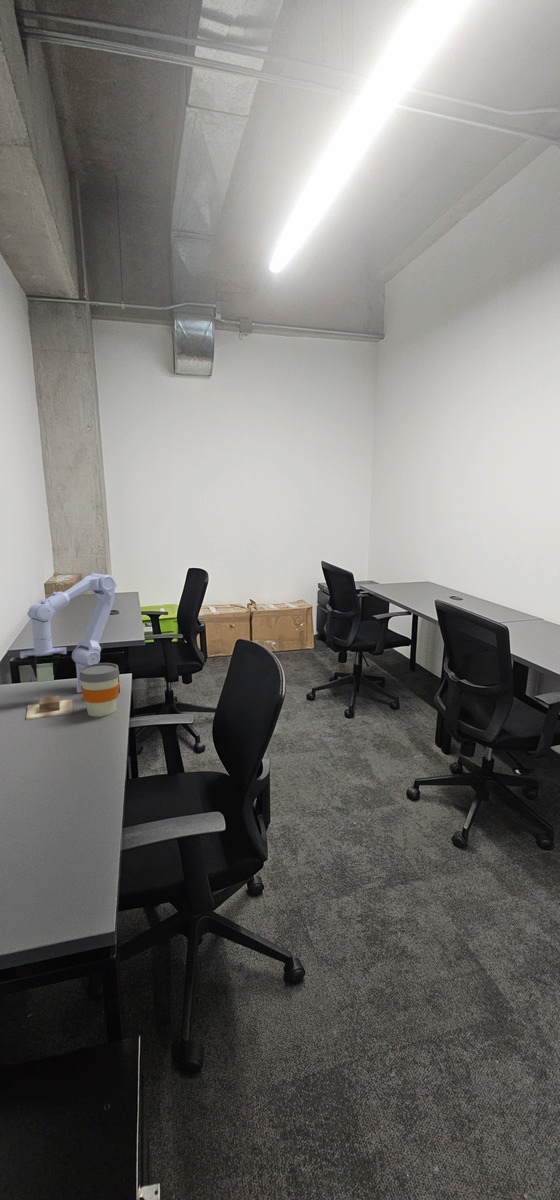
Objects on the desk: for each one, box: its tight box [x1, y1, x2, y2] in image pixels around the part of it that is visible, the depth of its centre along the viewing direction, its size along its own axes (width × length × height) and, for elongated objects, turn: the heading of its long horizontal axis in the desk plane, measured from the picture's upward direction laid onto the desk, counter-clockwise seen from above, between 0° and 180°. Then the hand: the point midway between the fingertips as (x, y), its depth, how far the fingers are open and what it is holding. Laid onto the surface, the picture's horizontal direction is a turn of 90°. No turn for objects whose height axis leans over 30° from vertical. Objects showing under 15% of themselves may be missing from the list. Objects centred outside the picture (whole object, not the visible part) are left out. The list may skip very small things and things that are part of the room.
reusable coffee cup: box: [79, 662, 120, 717], centre depth 168 cm, size 13×13×15 cm
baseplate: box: [25, 695, 74, 721], centre depth 170 cm, size 14×12×4 cm
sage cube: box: [36, 662, 55, 683], centre depth 177 cm, size 5×5×5 cm
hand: (45, 675), depth 177 cm, fingers closed on sage cube, 5 cm apart
